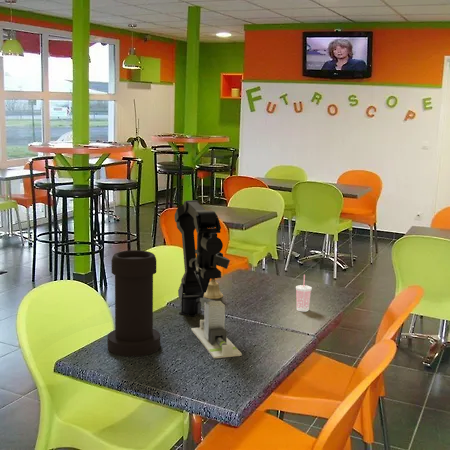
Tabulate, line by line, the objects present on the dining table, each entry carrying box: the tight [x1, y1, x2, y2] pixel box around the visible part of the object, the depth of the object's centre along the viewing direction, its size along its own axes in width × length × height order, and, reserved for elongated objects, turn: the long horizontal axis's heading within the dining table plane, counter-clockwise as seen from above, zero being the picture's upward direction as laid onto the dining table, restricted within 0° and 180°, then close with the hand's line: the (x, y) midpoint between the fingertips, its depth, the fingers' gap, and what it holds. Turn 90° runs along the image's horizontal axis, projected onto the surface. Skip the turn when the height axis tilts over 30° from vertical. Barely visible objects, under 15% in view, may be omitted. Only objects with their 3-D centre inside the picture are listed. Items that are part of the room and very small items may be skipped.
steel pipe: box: [203, 323, 227, 347], centre depth 199 cm, size 23×2×2 cm, turn 19°
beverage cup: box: [295, 274, 313, 312], centre depth 235 cm, size 6×6×14 cm
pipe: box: [107, 249, 161, 357], centre depth 191 cm, size 16×16×30 cm
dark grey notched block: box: [209, 328, 228, 344], centre depth 197 cm, size 2×5×4 cm, turn 109°
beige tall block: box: [203, 300, 226, 341], centre depth 200 cm, size 5×5×12 cm
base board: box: [190, 319, 243, 359], centre depth 199 cm, size 26×9×3 cm, turn 19°
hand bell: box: [203, 265, 224, 300], centre depth 249 cm, size 8×8×16 cm
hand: (204, 292), depth 210 cm, fingers closed
